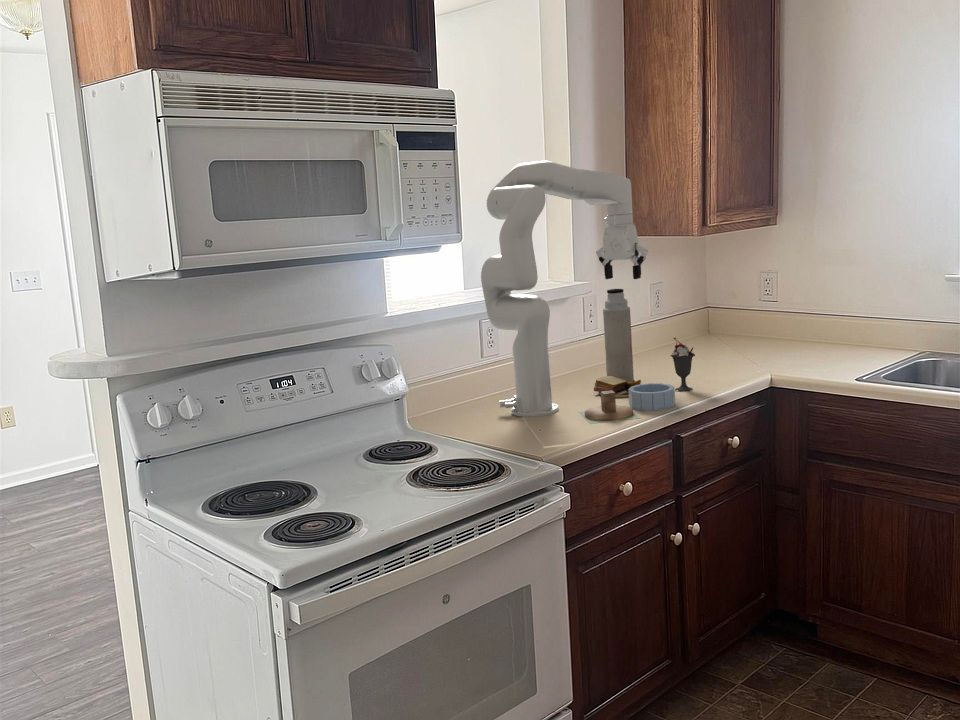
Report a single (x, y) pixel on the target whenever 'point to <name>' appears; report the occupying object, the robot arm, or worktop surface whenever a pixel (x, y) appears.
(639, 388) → the bowl
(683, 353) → the sundae
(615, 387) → the toy sandwich meal
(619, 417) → the lid
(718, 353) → the worktop surface
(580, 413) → the mat
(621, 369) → the thermos bottle
